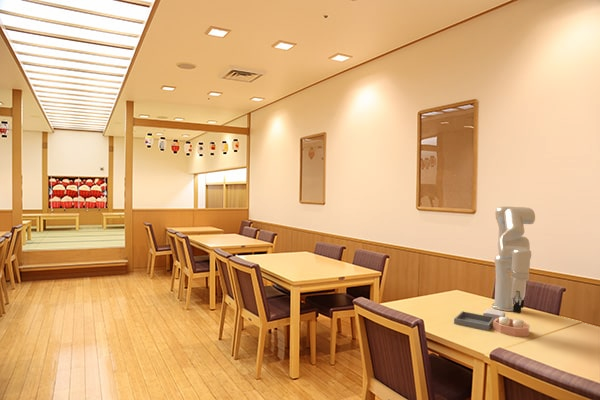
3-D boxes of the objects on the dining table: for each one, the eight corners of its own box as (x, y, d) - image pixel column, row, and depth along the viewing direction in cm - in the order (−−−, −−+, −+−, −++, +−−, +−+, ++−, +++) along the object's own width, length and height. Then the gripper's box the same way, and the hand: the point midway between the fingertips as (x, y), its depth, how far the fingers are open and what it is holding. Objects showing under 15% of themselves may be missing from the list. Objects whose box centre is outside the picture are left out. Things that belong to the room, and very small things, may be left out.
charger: (506, 318, 216) (502, 325, 204) (488, 314, 222) (482, 321, 209) (507, 309, 216) (502, 316, 204) (488, 306, 221) (483, 312, 209)
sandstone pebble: (513, 328, 196) (513, 318, 196) (523, 330, 193) (524, 320, 193) (511, 331, 192) (512, 320, 192) (522, 333, 190) (523, 323, 189)
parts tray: (461, 316, 215) (462, 311, 215) (494, 323, 206) (494, 317, 206) (453, 324, 202) (454, 318, 202) (488, 331, 193) (488, 325, 193)
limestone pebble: (499, 325, 200) (500, 315, 199) (510, 328, 197) (510, 317, 197) (497, 328, 196) (498, 318, 196) (508, 330, 193) (508, 320, 193)
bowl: (496, 323, 205) (496, 316, 205) (530, 330, 196) (530, 322, 196) (490, 331, 193) (491, 323, 193) (526, 339, 184) (527, 330, 184)
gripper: (514, 270, 202) (512, 304, 203) (508, 277, 188) (506, 313, 189) (531, 272, 197) (529, 307, 198) (526, 280, 183) (525, 316, 184)
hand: (518, 310), depth 193 cm, fingers open, 9 cm apart
